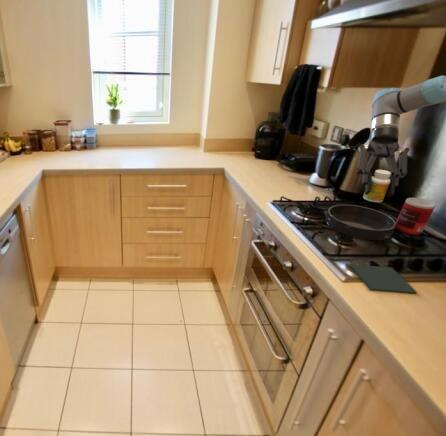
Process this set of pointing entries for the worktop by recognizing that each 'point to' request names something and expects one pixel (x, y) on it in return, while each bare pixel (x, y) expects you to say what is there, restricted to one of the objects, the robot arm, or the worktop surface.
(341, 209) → the pan
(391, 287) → the mat
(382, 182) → the supplement bottle
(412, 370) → the worktop surface
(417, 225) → the red supplement tub
